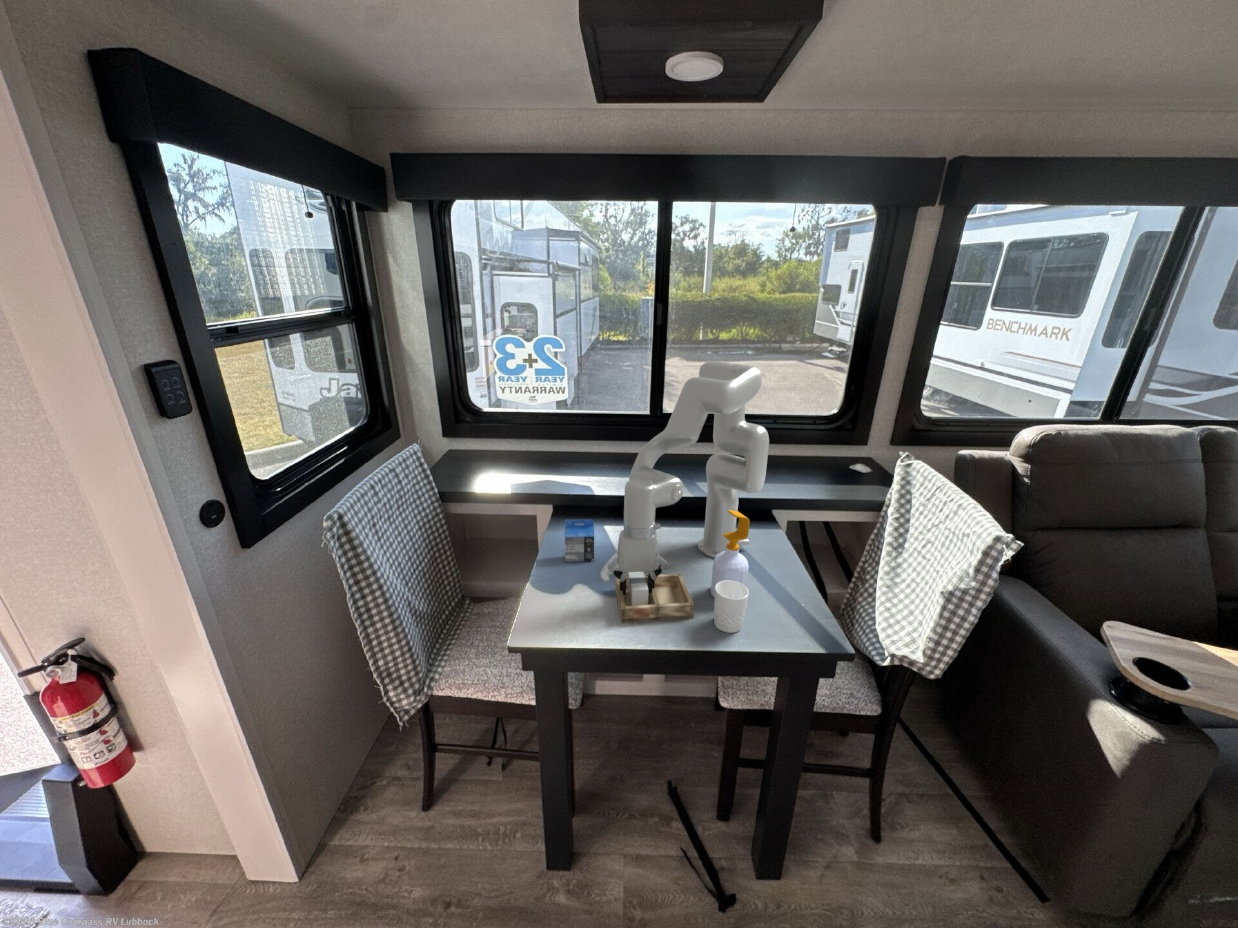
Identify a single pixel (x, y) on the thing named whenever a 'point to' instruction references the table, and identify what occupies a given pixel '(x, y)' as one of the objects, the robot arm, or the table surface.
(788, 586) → the table surface
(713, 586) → the spray bottle
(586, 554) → the label tape box
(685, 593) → the wooden compartment tray
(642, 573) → the grey banded white block
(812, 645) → the table surface
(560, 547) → the table surface
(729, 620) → the white cup
